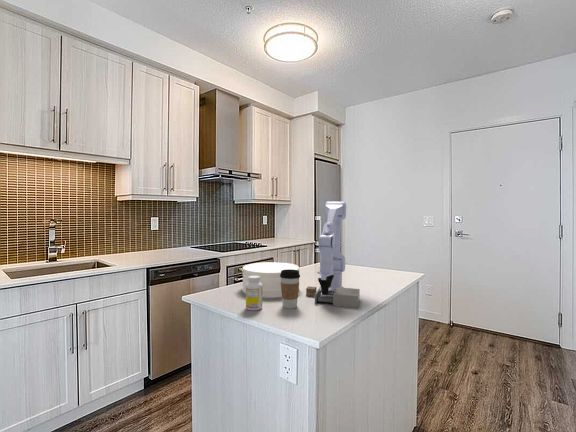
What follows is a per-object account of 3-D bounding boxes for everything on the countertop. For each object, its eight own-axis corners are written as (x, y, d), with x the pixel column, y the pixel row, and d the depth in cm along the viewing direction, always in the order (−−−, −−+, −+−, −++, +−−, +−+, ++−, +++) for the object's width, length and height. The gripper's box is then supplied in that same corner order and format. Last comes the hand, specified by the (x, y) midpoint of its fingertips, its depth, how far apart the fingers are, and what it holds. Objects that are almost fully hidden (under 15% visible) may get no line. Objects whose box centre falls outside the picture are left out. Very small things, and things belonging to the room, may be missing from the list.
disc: (320, 289, 140) (321, 285, 140) (333, 290, 139) (333, 286, 139) (318, 292, 135) (318, 288, 135) (330, 293, 134) (330, 289, 133)
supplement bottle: (254, 304, 130) (254, 274, 130) (265, 308, 126) (265, 276, 126) (242, 308, 125) (242, 276, 125) (253, 312, 121) (254, 279, 121)
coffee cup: (282, 310, 124) (282, 272, 123) (277, 303, 132) (277, 268, 131) (302, 308, 126) (302, 271, 125) (296, 302, 134) (296, 267, 134)
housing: (336, 297, 142) (337, 287, 142) (359, 299, 139) (359, 289, 139) (333, 305, 130) (333, 294, 130) (357, 307, 127) (357, 296, 127)
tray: (318, 296, 144) (318, 287, 144) (341, 298, 141) (341, 289, 141) (313, 303, 133) (313, 293, 133) (337, 305, 130) (337, 296, 130)
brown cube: (308, 293, 148) (308, 286, 148) (316, 294, 147) (316, 287, 147) (306, 295, 144) (306, 288, 144) (314, 296, 143) (314, 289, 143)
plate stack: (274, 301, 136) (274, 275, 135) (230, 291, 152) (230, 267, 152) (309, 288, 158) (310, 266, 158) (268, 280, 175) (268, 260, 174)
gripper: (320, 259, 145) (320, 288, 145) (314, 264, 131) (313, 296, 131) (335, 259, 143) (335, 289, 143) (330, 265, 129) (330, 298, 129)
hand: (326, 292), depth 137 cm, fingers closed on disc, 5 cm apart
